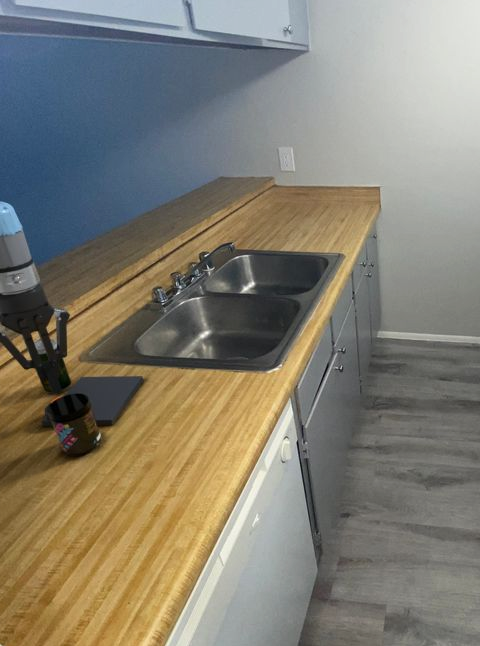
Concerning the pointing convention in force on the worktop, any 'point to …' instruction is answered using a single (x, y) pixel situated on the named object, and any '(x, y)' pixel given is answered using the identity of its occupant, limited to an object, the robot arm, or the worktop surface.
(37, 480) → the worktop surface
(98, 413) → the kitchen scale
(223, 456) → the worktop surface
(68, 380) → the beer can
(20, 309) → the robot arm
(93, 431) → the supplement container
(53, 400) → the button
